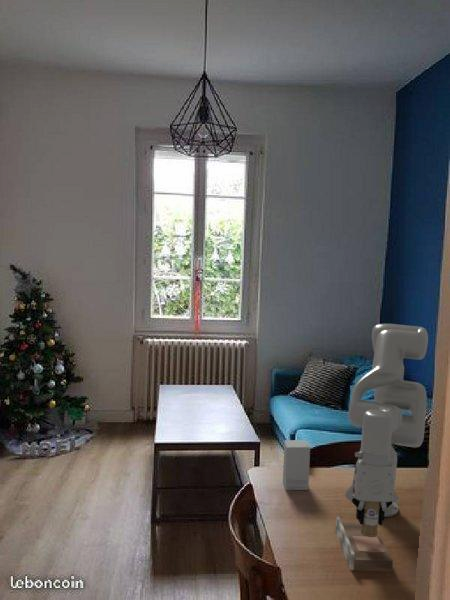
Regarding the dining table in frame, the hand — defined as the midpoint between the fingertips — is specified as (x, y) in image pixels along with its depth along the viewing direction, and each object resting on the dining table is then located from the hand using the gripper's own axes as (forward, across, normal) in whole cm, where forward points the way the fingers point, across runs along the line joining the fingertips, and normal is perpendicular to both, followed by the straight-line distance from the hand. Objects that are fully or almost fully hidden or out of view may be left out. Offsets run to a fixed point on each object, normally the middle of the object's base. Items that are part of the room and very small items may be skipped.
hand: (369, 521), depth 139 cm
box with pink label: (+10, 0, +2) cm, 10 cm away
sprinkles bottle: (+4, 0, 0) cm, 4 cm away
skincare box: (+10, -14, +38) cm, 42 cm away
